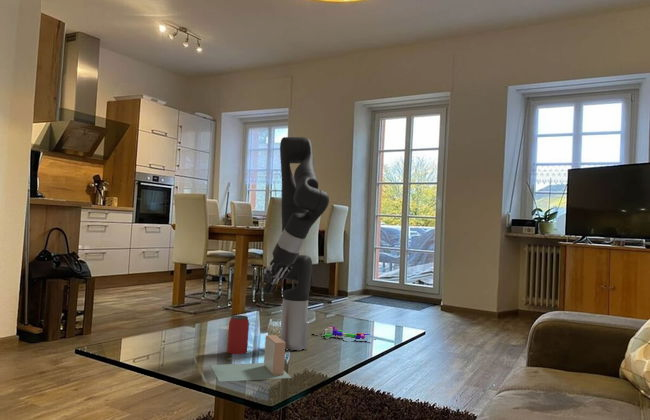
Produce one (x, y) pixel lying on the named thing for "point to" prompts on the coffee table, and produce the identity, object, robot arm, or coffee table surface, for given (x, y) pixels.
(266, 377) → the felt mat
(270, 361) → the tile
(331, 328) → the building block set
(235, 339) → the beer can
